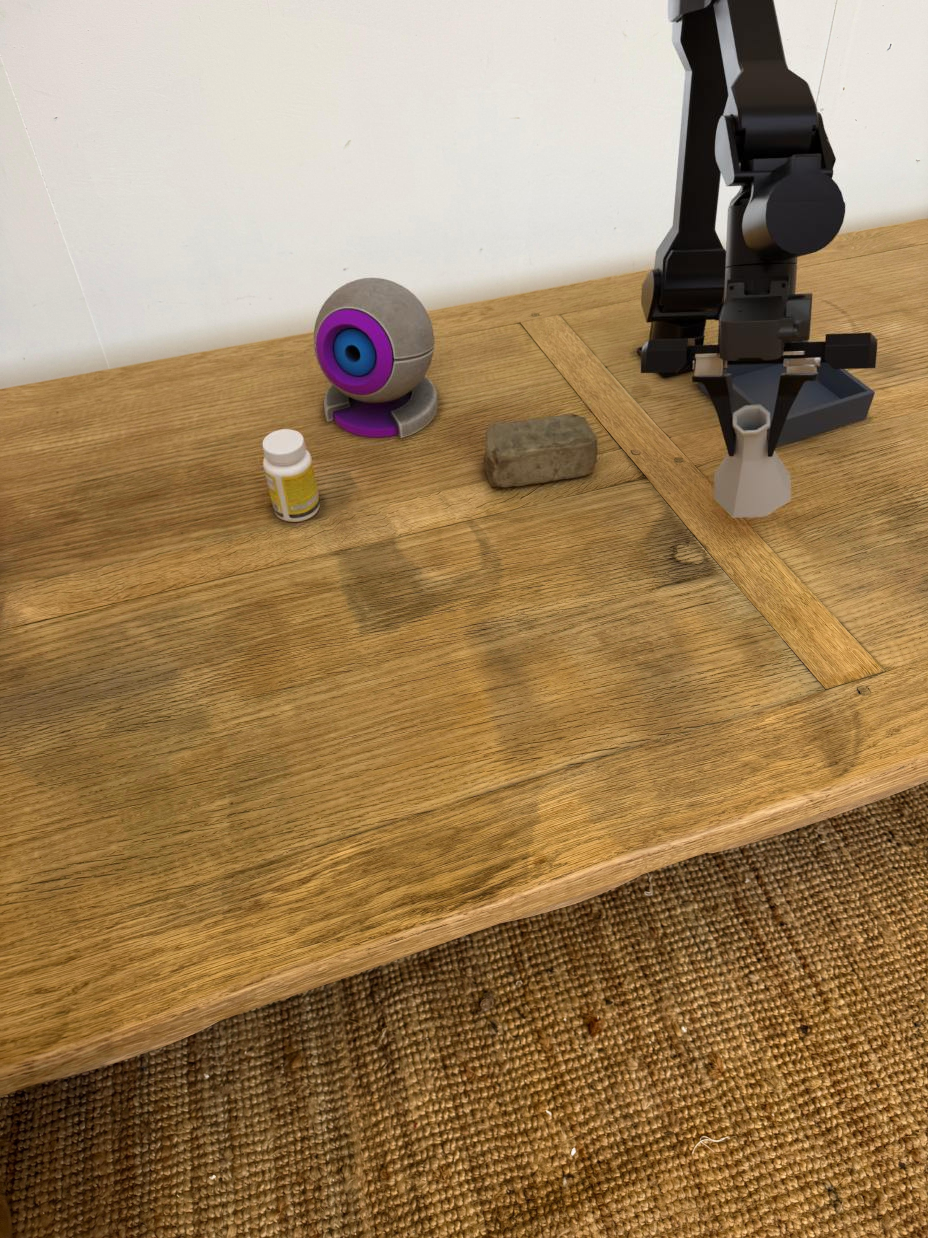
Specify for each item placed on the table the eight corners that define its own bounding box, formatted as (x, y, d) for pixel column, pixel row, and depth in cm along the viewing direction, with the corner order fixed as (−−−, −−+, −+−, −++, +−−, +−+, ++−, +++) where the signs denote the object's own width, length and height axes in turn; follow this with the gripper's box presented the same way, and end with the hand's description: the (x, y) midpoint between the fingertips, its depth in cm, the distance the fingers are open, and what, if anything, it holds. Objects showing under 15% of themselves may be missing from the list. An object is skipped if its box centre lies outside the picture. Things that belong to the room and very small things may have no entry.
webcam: (305, 426, 105) (282, 303, 94) (356, 367, 113) (340, 247, 102) (410, 450, 102) (399, 325, 91) (455, 387, 110) (450, 265, 99)
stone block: (598, 478, 98) (601, 439, 94) (491, 495, 96) (490, 456, 93) (582, 445, 102) (585, 406, 98) (479, 461, 100) (477, 423, 97)
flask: (702, 471, 91) (696, 401, 82) (776, 448, 90) (778, 375, 81) (726, 530, 87) (723, 462, 78) (804, 506, 86) (809, 435, 77)
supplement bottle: (328, 498, 97) (316, 431, 91) (308, 527, 94) (294, 460, 88) (286, 489, 98) (272, 422, 92) (265, 518, 95) (249, 451, 89)
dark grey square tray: (697, 387, 108) (702, 361, 106) (792, 360, 112) (799, 333, 109) (766, 450, 100) (773, 423, 97) (866, 419, 103) (875, 391, 101)
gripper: (630, 266, 74) (627, 466, 78) (890, 251, 67) (870, 469, 72) (653, 275, 84) (649, 451, 88) (881, 262, 77) (864, 453, 82)
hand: (750, 456), depth 82 cm, fingers closed on flask, 3 cm apart
